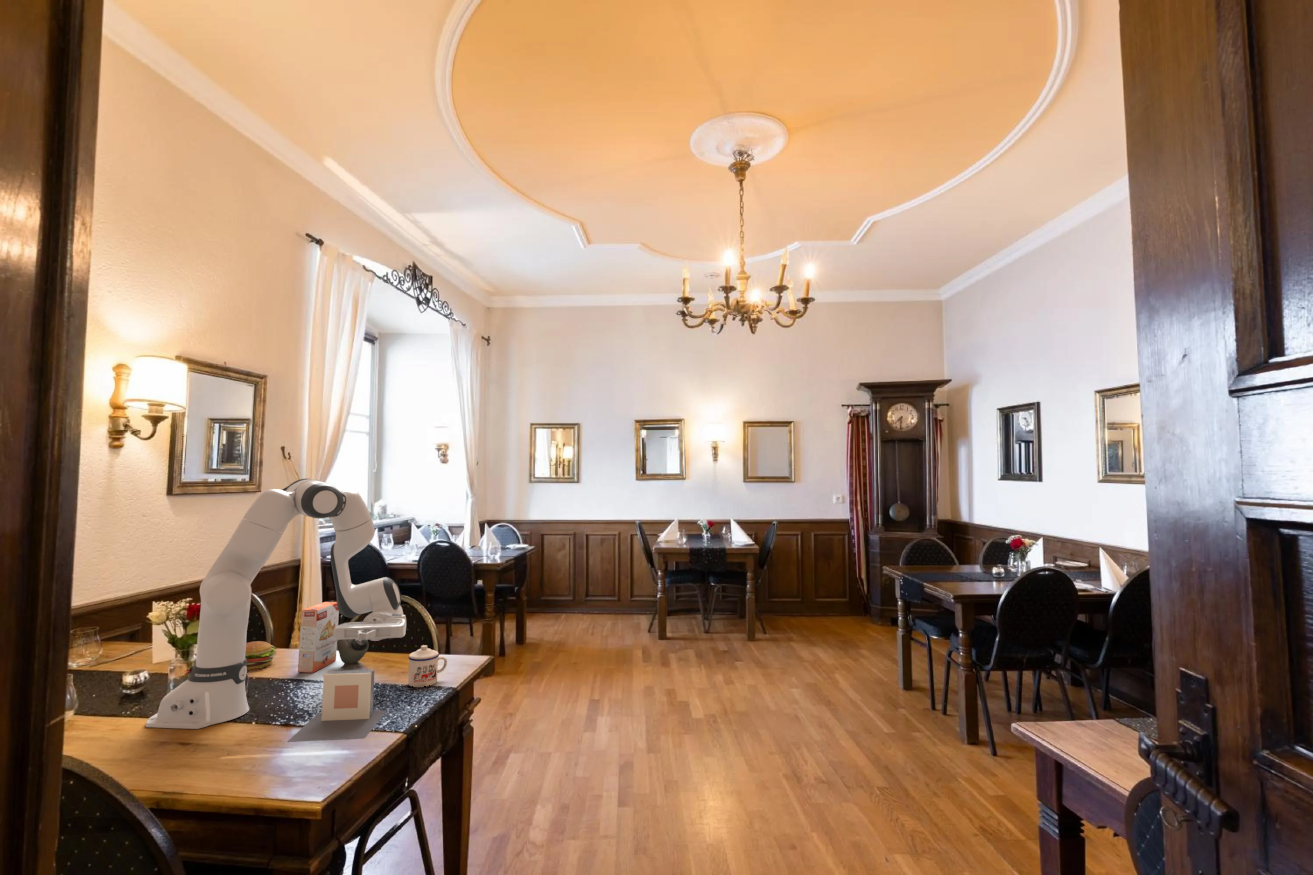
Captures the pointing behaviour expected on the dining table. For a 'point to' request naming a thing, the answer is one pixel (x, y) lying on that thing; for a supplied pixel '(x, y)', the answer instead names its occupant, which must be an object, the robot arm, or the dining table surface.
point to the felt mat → (336, 728)
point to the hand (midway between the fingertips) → (362, 637)
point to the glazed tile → (348, 695)
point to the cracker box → (318, 637)
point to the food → (259, 654)
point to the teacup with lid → (424, 667)
